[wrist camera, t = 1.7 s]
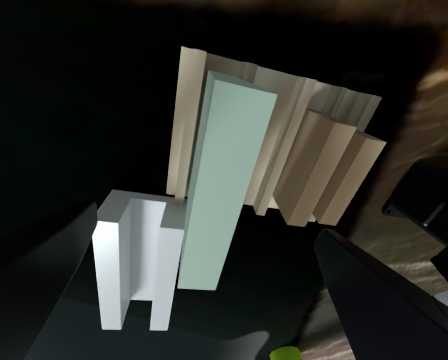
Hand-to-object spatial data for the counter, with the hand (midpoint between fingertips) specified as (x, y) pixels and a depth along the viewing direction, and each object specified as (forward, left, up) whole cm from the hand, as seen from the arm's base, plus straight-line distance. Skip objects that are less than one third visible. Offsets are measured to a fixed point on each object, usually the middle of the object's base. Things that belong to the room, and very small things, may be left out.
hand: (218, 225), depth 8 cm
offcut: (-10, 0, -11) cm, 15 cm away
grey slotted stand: (+5, +15, -12) cm, 19 cm away
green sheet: (0, 0, -11) cm, 11 cm away
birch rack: (-5, 0, -12) cm, 13 cm away
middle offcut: (-7, 0, -11) cm, 13 cm away
